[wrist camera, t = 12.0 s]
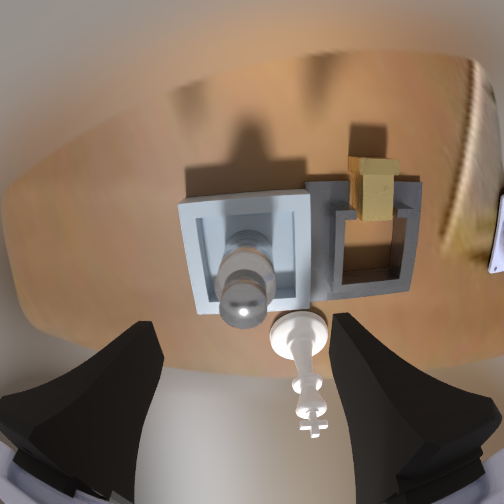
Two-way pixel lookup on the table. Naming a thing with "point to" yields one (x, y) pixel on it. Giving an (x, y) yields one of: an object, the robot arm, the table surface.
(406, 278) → the socket
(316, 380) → the chess piece
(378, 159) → the tan stepped block
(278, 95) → the table surface
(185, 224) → the tray
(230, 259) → the stepped metal cylinder
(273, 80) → the table surface
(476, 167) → the table surface
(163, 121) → the table surface
